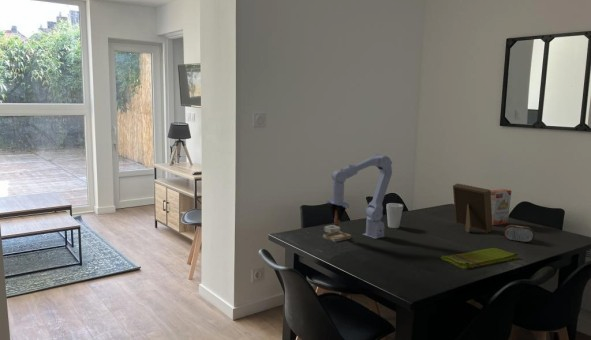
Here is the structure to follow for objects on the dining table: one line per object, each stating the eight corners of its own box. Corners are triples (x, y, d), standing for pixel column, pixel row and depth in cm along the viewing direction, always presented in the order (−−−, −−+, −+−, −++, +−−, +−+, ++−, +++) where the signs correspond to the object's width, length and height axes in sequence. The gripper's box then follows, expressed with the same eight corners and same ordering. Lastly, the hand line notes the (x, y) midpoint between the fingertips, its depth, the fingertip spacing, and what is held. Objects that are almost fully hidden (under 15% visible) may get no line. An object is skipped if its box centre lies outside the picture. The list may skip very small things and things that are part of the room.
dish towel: (439, 259, 222) (439, 253, 222) (492, 250, 239) (493, 244, 238) (464, 270, 209) (465, 263, 208) (518, 259, 225) (519, 253, 225)
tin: (533, 242, 252) (535, 227, 250) (533, 244, 249) (535, 228, 248) (503, 238, 258) (504, 223, 257) (502, 239, 255) (504, 224, 254)
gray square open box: (340, 232, 260) (340, 227, 260) (332, 234, 256) (332, 229, 256) (332, 230, 265) (332, 224, 265) (324, 231, 261) (324, 226, 261)
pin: (341, 225, 249) (341, 210, 248) (337, 226, 247) (337, 211, 246) (336, 223, 252) (337, 209, 250) (333, 224, 250) (333, 210, 248)
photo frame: (460, 222, 288) (463, 182, 284) (492, 231, 270) (496, 188, 266) (444, 226, 280) (447, 184, 276) (476, 235, 262) (480, 191, 258)
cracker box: (493, 226, 282) (496, 192, 279) (485, 223, 287) (488, 190, 284) (508, 223, 289) (512, 190, 286) (500, 221, 294) (503, 188, 291)
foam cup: (400, 225, 279) (402, 203, 278) (402, 229, 270) (404, 207, 268) (384, 224, 280) (385, 202, 278) (386, 228, 271) (387, 206, 269)
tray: (351, 238, 249) (352, 235, 249) (335, 242, 242) (335, 239, 241) (338, 234, 257) (338, 230, 256) (322, 238, 249) (322, 234, 249)
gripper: (323, 191, 250) (322, 216, 252) (342, 196, 239) (341, 222, 241) (333, 190, 254) (332, 215, 256) (352, 195, 243) (351, 220, 245)
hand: (337, 218), depth 249 cm, fingers closed on pin, 3 cm apart
